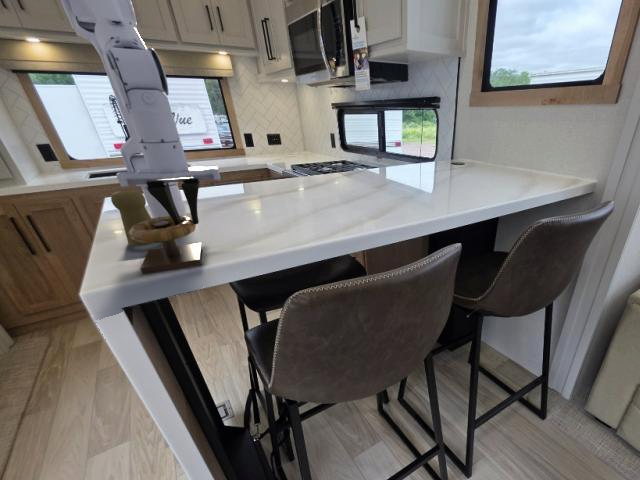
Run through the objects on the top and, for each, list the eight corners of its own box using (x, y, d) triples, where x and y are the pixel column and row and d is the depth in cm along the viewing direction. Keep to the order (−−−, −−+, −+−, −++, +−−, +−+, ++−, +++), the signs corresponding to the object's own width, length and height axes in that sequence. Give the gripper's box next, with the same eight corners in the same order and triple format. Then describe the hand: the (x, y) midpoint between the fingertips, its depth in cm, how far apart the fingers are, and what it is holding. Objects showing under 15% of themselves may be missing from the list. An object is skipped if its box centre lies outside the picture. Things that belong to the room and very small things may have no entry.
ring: (138, 230, 62) (133, 218, 60) (198, 222, 65) (195, 211, 64) (127, 249, 54) (120, 236, 53) (195, 238, 57) (191, 226, 56)
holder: (151, 255, 64) (135, 219, 60) (203, 248, 67) (191, 213, 63) (142, 274, 57) (125, 234, 53) (201, 265, 60) (188, 227, 56)
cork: (170, 243, 69) (150, 189, 64) (139, 253, 65) (114, 196, 59) (154, 238, 72) (134, 186, 66) (123, 247, 67) (98, 192, 62)
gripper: (97, 145, 47) (135, 236, 54) (209, 142, 53) (231, 224, 60) (109, 141, 53) (143, 223, 60) (210, 138, 58) (230, 214, 65)
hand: (187, 223), depth 60 cm, fingers closed on ring, 2 cm apart
